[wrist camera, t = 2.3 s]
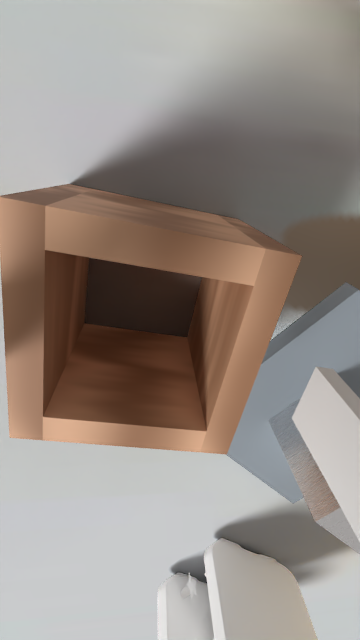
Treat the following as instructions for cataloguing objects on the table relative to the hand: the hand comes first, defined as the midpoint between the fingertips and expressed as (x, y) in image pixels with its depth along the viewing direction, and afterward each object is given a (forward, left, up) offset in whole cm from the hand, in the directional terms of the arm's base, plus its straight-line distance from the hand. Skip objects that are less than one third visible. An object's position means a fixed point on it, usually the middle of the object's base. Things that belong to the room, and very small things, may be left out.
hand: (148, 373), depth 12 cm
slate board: (+18, +2, -10) cm, 20 cm away
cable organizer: (+33, -20, -10) cm, 40 cm away
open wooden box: (0, 0, -10) cm, 10 cm away
